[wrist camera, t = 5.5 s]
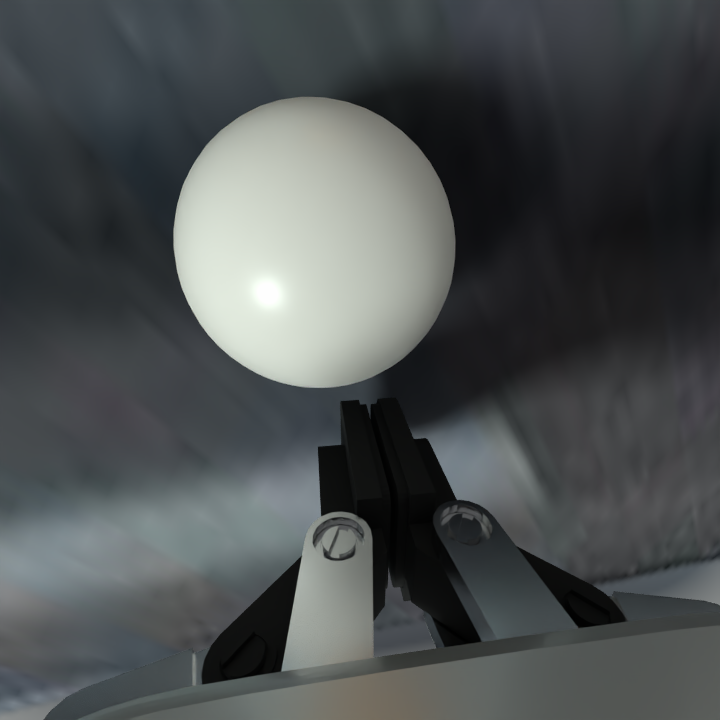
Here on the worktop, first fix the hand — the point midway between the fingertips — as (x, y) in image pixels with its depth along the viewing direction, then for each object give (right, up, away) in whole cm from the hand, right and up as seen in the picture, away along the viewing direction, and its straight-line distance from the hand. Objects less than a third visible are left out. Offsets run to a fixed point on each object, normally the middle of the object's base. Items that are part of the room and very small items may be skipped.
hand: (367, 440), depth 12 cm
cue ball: (-1, +5, -4) cm, 6 cm away
